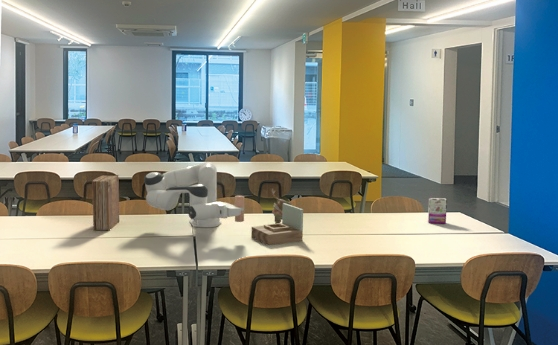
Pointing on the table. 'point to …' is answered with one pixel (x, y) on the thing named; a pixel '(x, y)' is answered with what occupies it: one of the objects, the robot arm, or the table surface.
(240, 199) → the light brown tall block
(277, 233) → the display plinth
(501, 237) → the table surface
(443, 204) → the candy bar box
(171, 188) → the robot arm
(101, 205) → the book
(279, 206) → the brown figurine
